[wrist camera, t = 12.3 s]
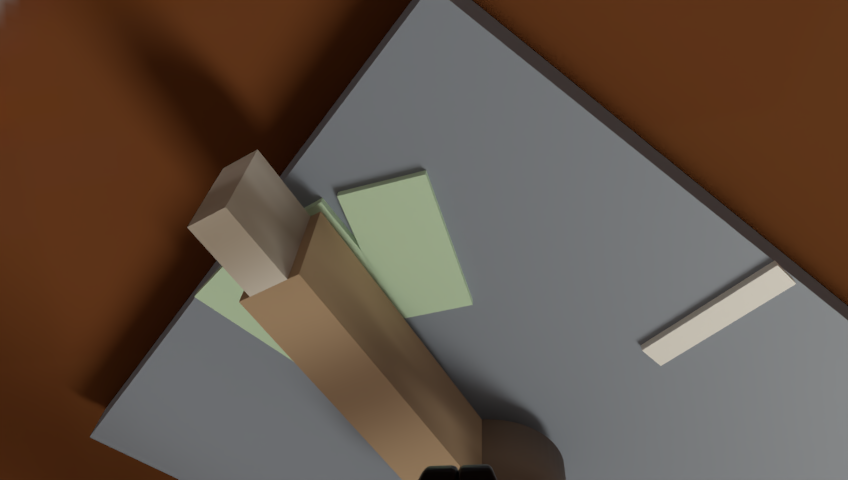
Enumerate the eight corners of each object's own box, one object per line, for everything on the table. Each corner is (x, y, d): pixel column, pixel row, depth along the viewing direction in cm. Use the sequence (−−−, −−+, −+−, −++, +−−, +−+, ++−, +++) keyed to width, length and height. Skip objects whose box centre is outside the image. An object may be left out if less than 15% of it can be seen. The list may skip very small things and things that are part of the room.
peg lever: (588, 490, 22) (601, 585, 19) (461, 526, 23) (459, 618, 21) (320, 115, 15) (288, 186, 13) (167, 198, 17) (112, 277, 14)
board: (548, 625, 30) (551, 661, 29) (104, 407, 24) (85, 441, 23) (968, 403, 21) (997, 441, 20) (433, -33, 15) (429, -15, 14)
